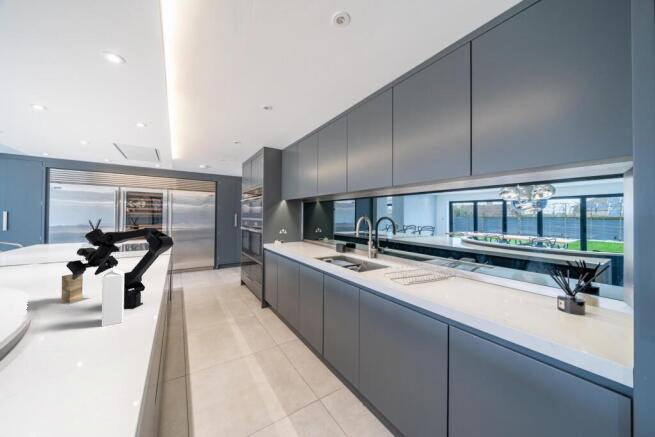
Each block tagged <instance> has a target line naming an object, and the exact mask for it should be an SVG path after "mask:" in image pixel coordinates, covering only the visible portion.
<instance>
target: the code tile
mask: <svg viewBox="0 0 655 437" xmlns="http://www.w3.org/2000/svg"><path fill="white" fill-rule="evenodd" d="M90 299H91V298H90V297H82V299H81V300H78V301H74V302H70V303H68V302H61V300H59V301H55V302H53V304H58V305H67V306H68V305H72V304H76V303H80V302H84V301H86V300H90Z"/></svg>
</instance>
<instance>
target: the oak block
mask: <svg viewBox="0 0 655 437" xmlns="http://www.w3.org/2000/svg"><path fill="white" fill-rule="evenodd" d="M72 274H73V273H72ZM72 274H71V273H70V274H66V275H61V296H60V297H61V300H60V301H61V302H68V303H70V302H74V301H78V300H81V299H82V298H83V276H84V273H83V274H82V275H81V276H79V277H78V278H76V279H75V280H73V279H72Z"/></svg>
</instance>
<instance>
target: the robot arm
mask: <svg viewBox="0 0 655 437" xmlns="http://www.w3.org/2000/svg"><path fill="white" fill-rule="evenodd" d="M84 238H85V239H86V240H87V241H88V243H90V244H91V245H92V246H93V247H80V248H78V249H77V251H76V255H77V256H80V257H84V260H85V261H87V262H84V263H83V262H82V260H80V259H79V260H77V259H76V260H72V261H71V260H70V261H68V262H67V263H66V265H65V266H66V268H67V269H68V270H69V271H70V272H71V273H72V279H73V280H75V279H76V278H78V277H79V276H81V275H82V274H83V275H84V274H85V272H86V271H87V269H89V268H97V269H95V272H94V274H93V275H95V276H97V275H99V274H101V273H104V272H106V271H108V270H110V269H113V267H114V266H115V268H116V267H117V266H118V264H119V261H118V260H117V258H116V257H114V255H111V254H113V253H119V252H120V248H119V246H118V244H123V243H125V242H128V241H129V240H130V241H131V240H133V239H139V238H140V239H141V238H145V240H146V242H147V243H148V251H147V252H146V253H145V254H144V256H143V257H142V258H141V259H140V260H139V262H138V263H136V265H135V266H134V267H133V268H132V270H131V271H128V272H124V309H125V310H127V309H128V310H130V309H136V308H137V307H140V306H142V305H143V304H144V302H142V292H144V291H145V289H146V286H145V285H144V284H143V282H142V280H143V276H144V274H145V273H146V272H147V270H148V269H149V268H150V267H151V266H152V265H153V263H155V261H156V260H157V259H158V258H159V256H160V255H162V254H164V253H166V252H167V251H169V250H170V249H171V248H172V247H173V246H174V244H175V243H174V240H173V237H171V236H169V235H168V234H167V233H164V232H163V231H160V230H158V229H157V228H156V227H143V228H140V229H132V230H128V231H107V232H103V230H102V229H101V228H94V230H90V231H88V232H87V233H86V234H85V235H84ZM115 244H117V245H115ZM95 247H97V248H95Z"/></svg>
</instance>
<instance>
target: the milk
mask: <svg viewBox="0 0 655 437" xmlns="http://www.w3.org/2000/svg"><path fill="white" fill-rule="evenodd" d="M124 273H125V272H124V271H121V270H120V269H116V267H115V266H114V267H113V268H112V270H110V271H108V272H107V273H105V274H103V276H102V280H101V281H102V282H101V283H102V288H101V289H102V290H101V327H106V326H112V325H116V324H122V323H123V320H124V313H125V312H124V311H125V310H124Z"/></svg>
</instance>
